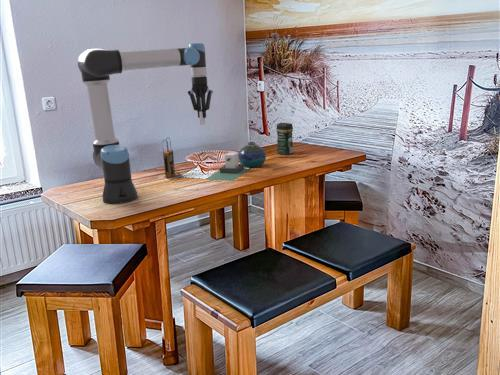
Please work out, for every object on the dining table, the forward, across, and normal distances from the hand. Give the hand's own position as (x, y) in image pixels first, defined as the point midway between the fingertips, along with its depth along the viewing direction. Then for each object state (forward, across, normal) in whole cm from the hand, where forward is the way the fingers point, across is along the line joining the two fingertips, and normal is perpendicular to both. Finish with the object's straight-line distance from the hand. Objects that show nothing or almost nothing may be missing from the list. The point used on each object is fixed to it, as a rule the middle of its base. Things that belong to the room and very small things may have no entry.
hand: (202, 124), depth 242 cm
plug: (+25, -12, -5) cm, 28 cm away
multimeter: (+27, +15, +4) cm, 31 cm away
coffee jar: (+27, -27, -56) cm, 68 cm away
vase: (+27, -18, -21) cm, 38 cm away
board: (+26, -12, +1) cm, 29 cm away
